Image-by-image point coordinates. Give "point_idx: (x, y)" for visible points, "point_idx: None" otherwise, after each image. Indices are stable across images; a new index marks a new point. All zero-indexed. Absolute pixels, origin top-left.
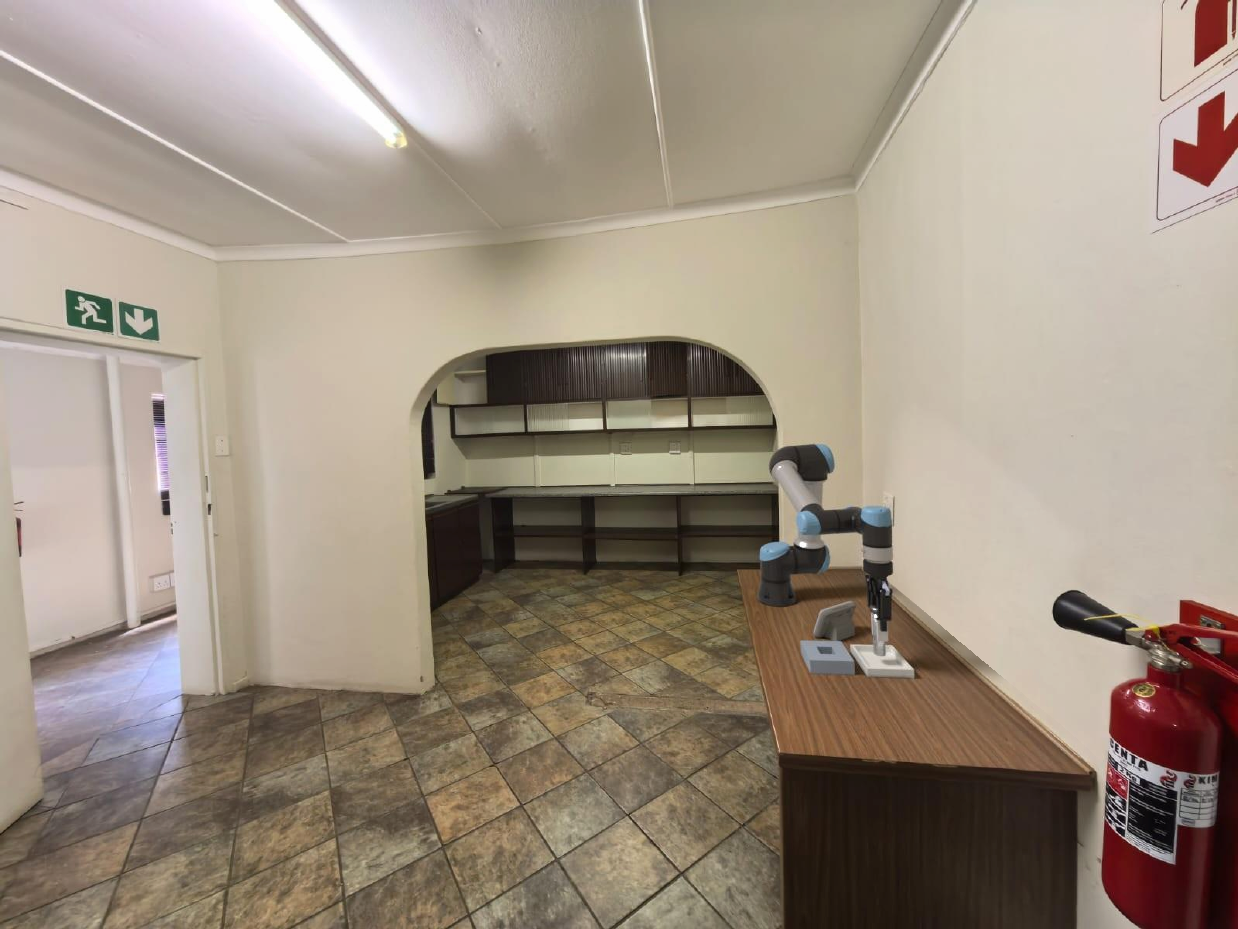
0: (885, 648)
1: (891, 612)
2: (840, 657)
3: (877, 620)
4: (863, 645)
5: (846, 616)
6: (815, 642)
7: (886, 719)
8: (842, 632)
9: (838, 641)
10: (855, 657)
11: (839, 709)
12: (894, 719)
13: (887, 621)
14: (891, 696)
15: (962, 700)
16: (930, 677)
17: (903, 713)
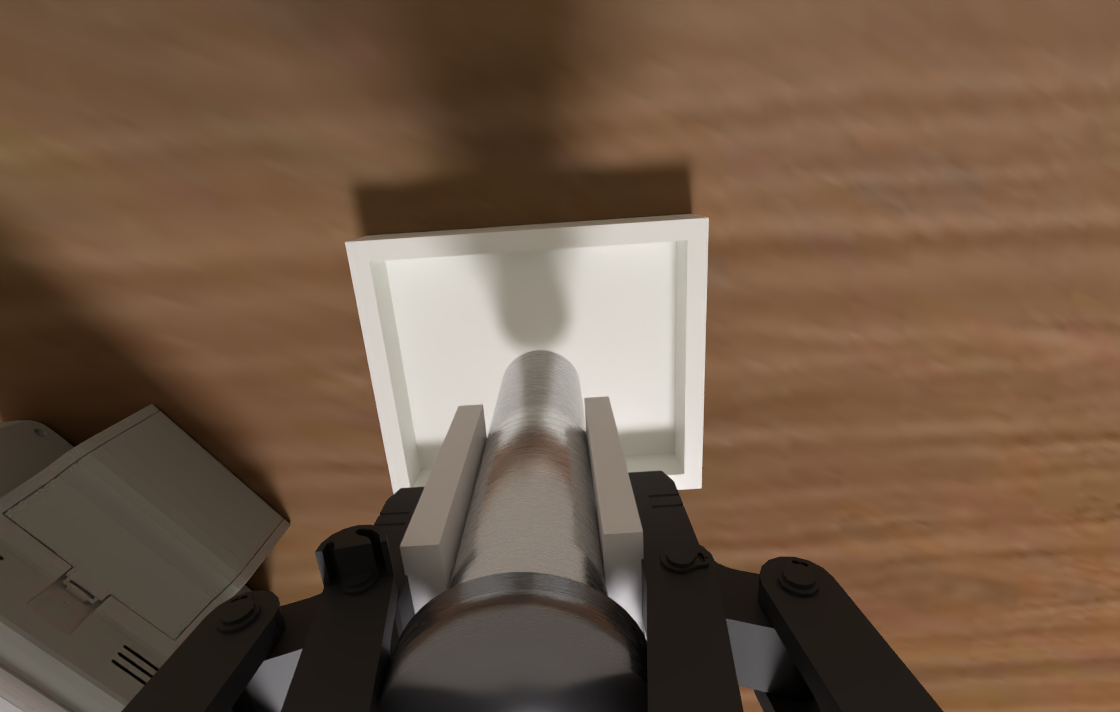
0: (564, 375)
1: (930, 699)
2: None
3: (644, 632)
4: (392, 435)
5: (29, 526)
6: None
7: (1045, 475)
8: (218, 518)
9: None
10: None
11: (951, 625)
12: (1051, 443)
13: (637, 516)
14: (871, 399)
15: (939, 10)
16: (671, 99)
17: (1014, 391)
